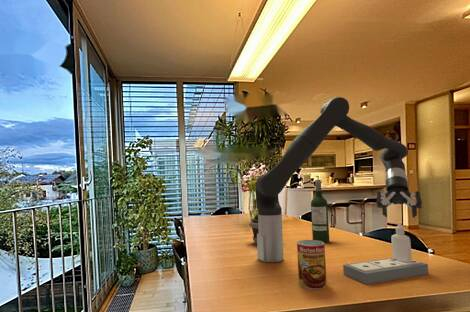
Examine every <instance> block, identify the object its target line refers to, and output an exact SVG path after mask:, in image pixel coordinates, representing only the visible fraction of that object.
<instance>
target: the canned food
mask: <svg viewBox="0 0 470 312" xmlns="http://www.w3.org/2000/svg"><path fill="white" fill-rule="evenodd" d="M325 244H326V243H324V242H322V241H317V240H313V239H303V240H298V241H297V242H296V248H297V250H296V251H297V252H296V253H297V269H298V270H297V271H298V285H299V286H300V287H301V288H304V289H307V290H321V289H322V290H323V289H324V288H326V287H327V284H328V283H327V267H326V264H327V263H326V247H325Z"/></svg>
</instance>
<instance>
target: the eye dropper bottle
mask: <svg viewBox="0 0 470 312" xmlns="http://www.w3.org/2000/svg"><path fill="white" fill-rule="evenodd" d="M411 244H412V243H411V238H410V237H409V236H408V235H406V234H405V227H404V226H403V225H402V223H401V222H398V223H397V226H395V234H393V235H391V254H392V258H393V259H394V260H397V261H401V262H411V261H412V260H413V258H412V246H411Z"/></svg>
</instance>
